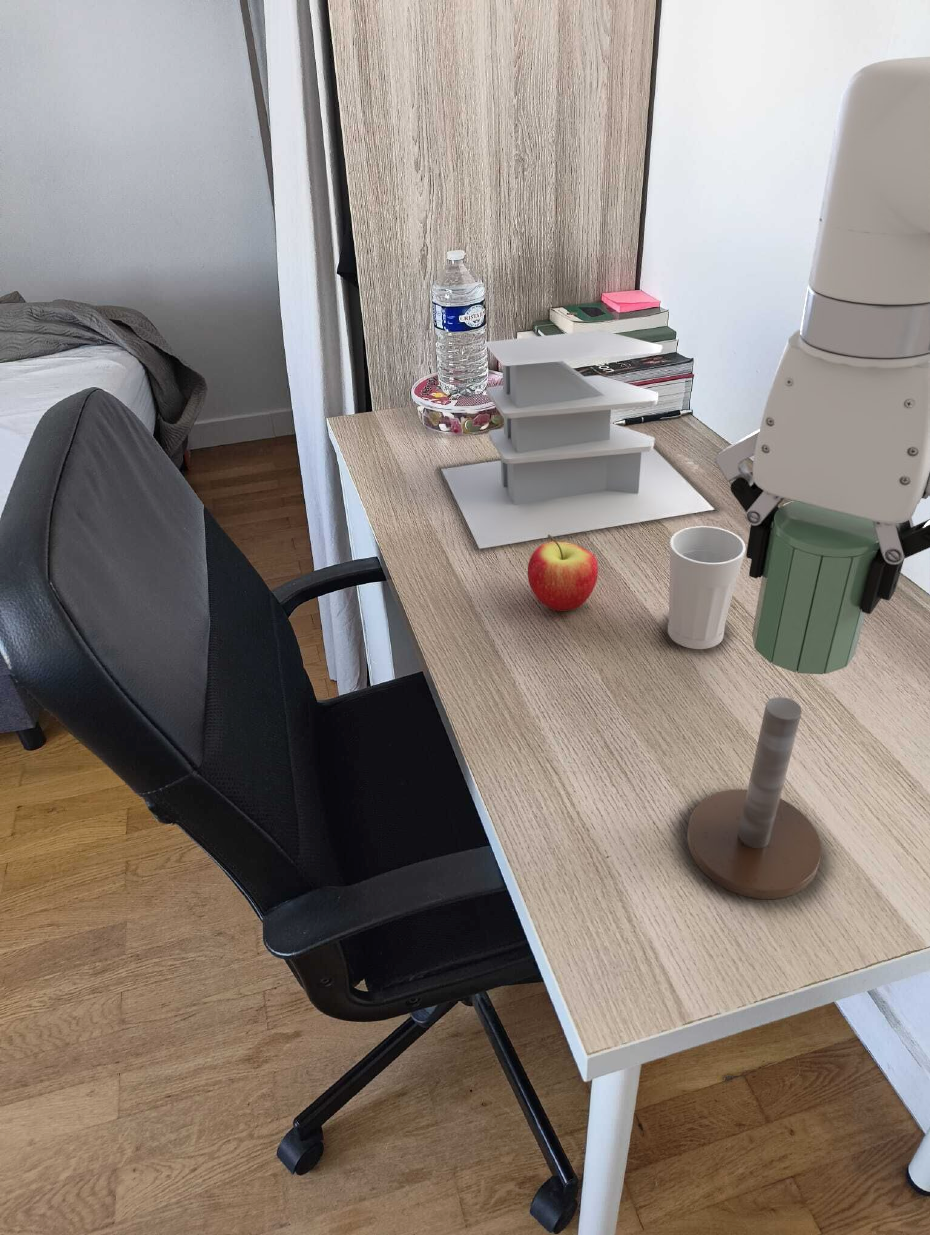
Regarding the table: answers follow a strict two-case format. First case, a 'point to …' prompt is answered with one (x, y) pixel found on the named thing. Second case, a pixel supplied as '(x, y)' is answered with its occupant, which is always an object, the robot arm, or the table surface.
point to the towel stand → (758, 821)
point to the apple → (562, 575)
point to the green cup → (813, 588)
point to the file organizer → (566, 448)
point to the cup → (702, 584)
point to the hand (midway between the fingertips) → (815, 583)
